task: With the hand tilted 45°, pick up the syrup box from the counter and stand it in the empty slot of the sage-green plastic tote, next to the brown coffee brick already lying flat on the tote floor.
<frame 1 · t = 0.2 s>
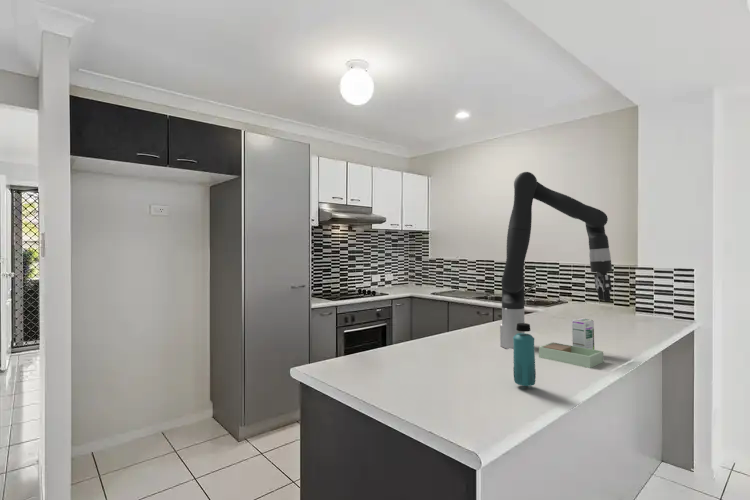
hand: (604, 300, 165), 22 cm above the counter, tool pointing down, fingers open, 8 cm apart
syrup box: (583, 356, 163), on the counter
tote: (570, 361, 156), on the counter
beverage bottle: (524, 388, 128), on the counter
coffee brick: (557, 356, 160), point 1 cm above the counter, touching tote
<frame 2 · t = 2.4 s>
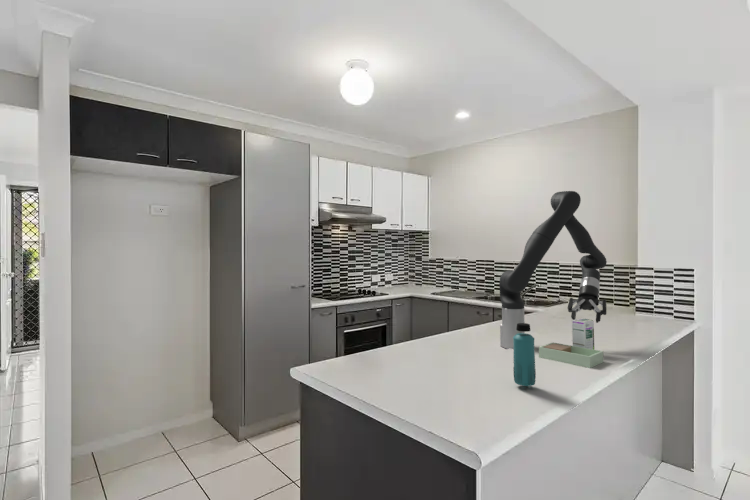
hand: (585, 320, 167), 13 cm above the counter, tool tilted 45°, fingers open, 8 cm apart
nothing on the counter moved.
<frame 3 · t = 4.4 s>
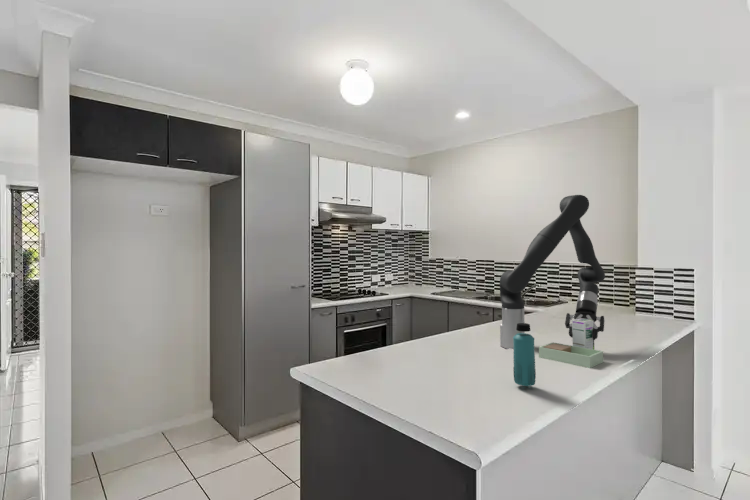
hand: (582, 337, 162), 8 cm above the counter, tool tilted 45°, fingers closed on syrup box, 7 cm apart
syrup box: (583, 356, 163), on the counter, touching gripper
everything else where it was.
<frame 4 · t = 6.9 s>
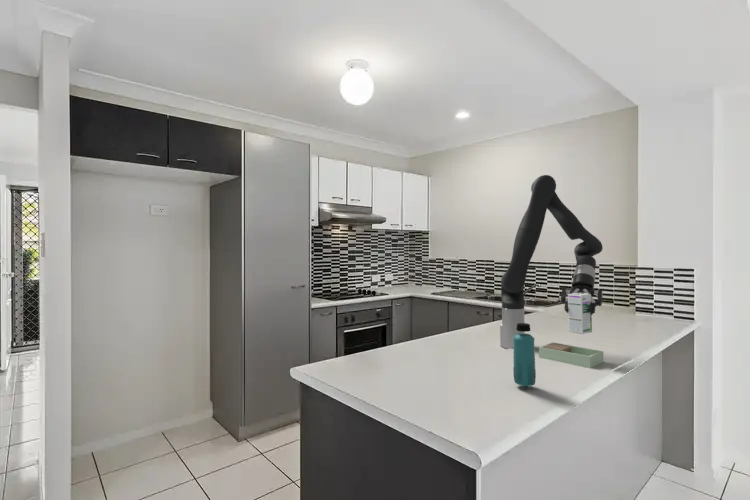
hand: (579, 312, 152), 19 cm above the counter, tool tilted 45°, fingers closed on syrup box, 7 cm apart
syrup box: (580, 332, 153), point 11 cm above the counter, touching gripper
everything else where it was.
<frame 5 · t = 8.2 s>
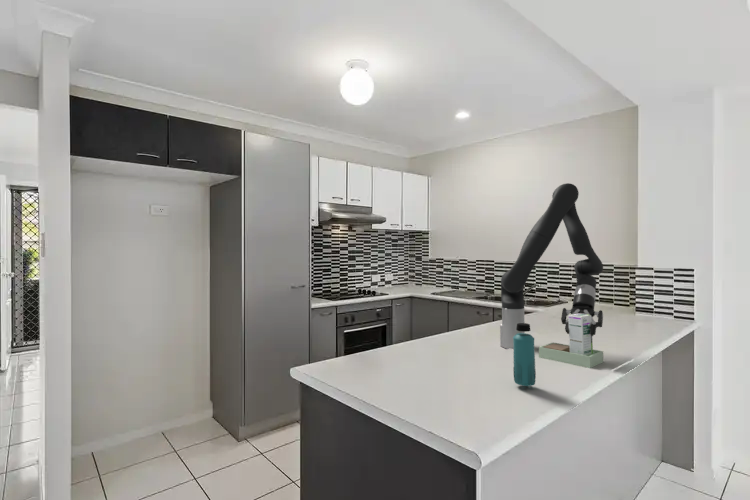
hand: (579, 333, 152), 11 cm above the counter, tool tilted 45°, fingers closed on syrup box, 7 cm apart
syrup box: (580, 353, 153), point 3 cm above the counter, touching gripper
everything else where it was.
when the fingers open (10 cm above the counter, at t = 9.2 s): syrup box drops 1 cm, resting on tote.
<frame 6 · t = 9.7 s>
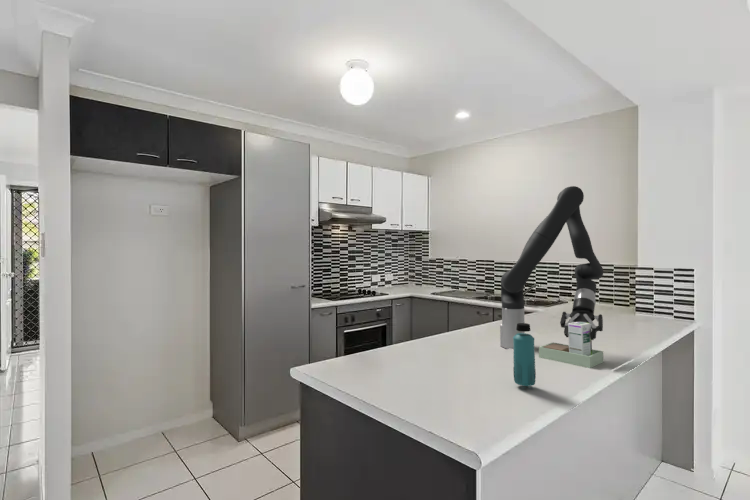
hand: (579, 337, 152), 10 cm above the counter, tool tilted 45°, fingers open, 8 cm apart
syrup box: (580, 362, 153), resting on tote
everything else where it was.
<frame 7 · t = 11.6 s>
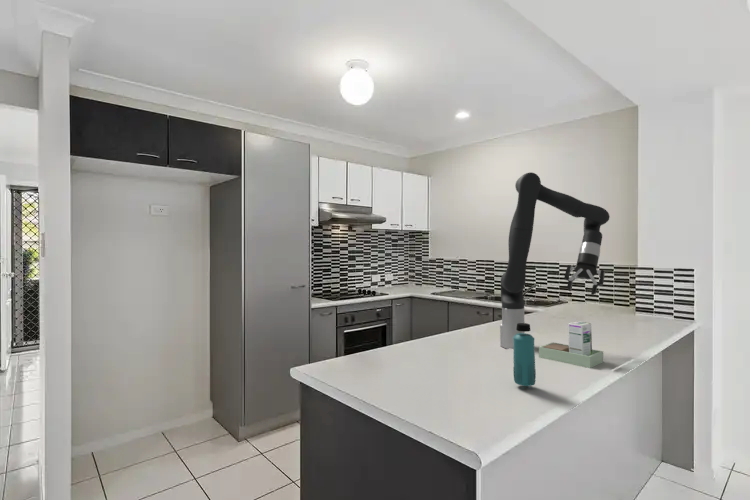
hand: (580, 292, 167), 25 cm above the counter, tool tilted 20°, fingers open, 8 cm apart
nothing on the counter moved.
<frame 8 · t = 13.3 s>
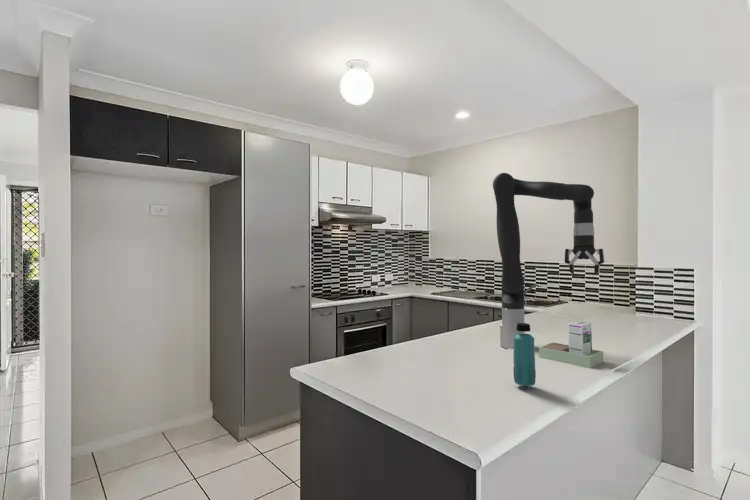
hand: (584, 274, 168), 32 cm above the counter, tool pointing down, fingers open, 8 cm apart
nothing on the counter moved.
at the end: syrup box inside the target area (0.4 cm from its centre), resting on tote; syrup box tilted 0°; the gripper is holding nothing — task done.
